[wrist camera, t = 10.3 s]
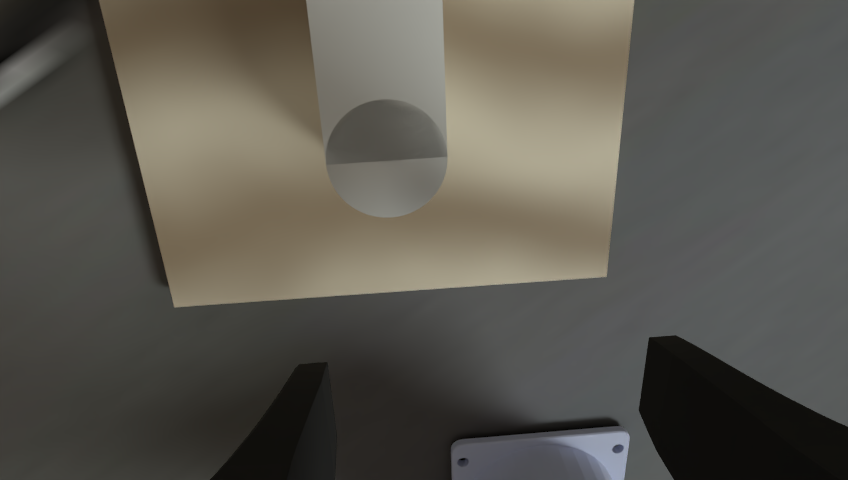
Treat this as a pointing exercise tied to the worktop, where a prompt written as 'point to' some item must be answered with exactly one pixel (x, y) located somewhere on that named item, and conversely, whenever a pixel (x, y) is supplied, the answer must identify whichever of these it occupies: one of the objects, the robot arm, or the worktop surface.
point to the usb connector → (381, 100)
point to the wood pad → (305, 159)
